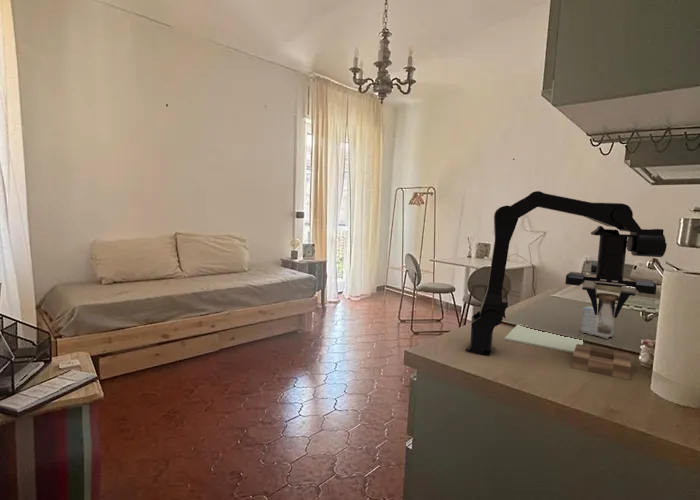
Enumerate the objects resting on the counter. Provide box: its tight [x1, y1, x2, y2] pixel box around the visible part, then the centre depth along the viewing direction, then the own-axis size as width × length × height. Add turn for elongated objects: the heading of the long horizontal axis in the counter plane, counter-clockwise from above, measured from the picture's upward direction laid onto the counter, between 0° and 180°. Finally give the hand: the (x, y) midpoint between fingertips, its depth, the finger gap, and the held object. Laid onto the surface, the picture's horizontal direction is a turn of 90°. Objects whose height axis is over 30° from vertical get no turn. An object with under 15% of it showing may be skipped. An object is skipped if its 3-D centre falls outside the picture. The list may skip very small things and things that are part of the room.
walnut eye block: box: [571, 344, 632, 381], centre depth 103 cm, size 12×12×3 cm
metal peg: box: [596, 292, 619, 334], centre depth 102 cm, size 5×5×10 cm
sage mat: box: [503, 324, 584, 354], centre depth 126 cm, size 20×20×1 cm
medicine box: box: [580, 305, 615, 337], centre depth 131 cm, size 8×4×9 cm, turn 35°
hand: (605, 316), depth 102 cm, fingers closed on metal peg, 4 cm apart
